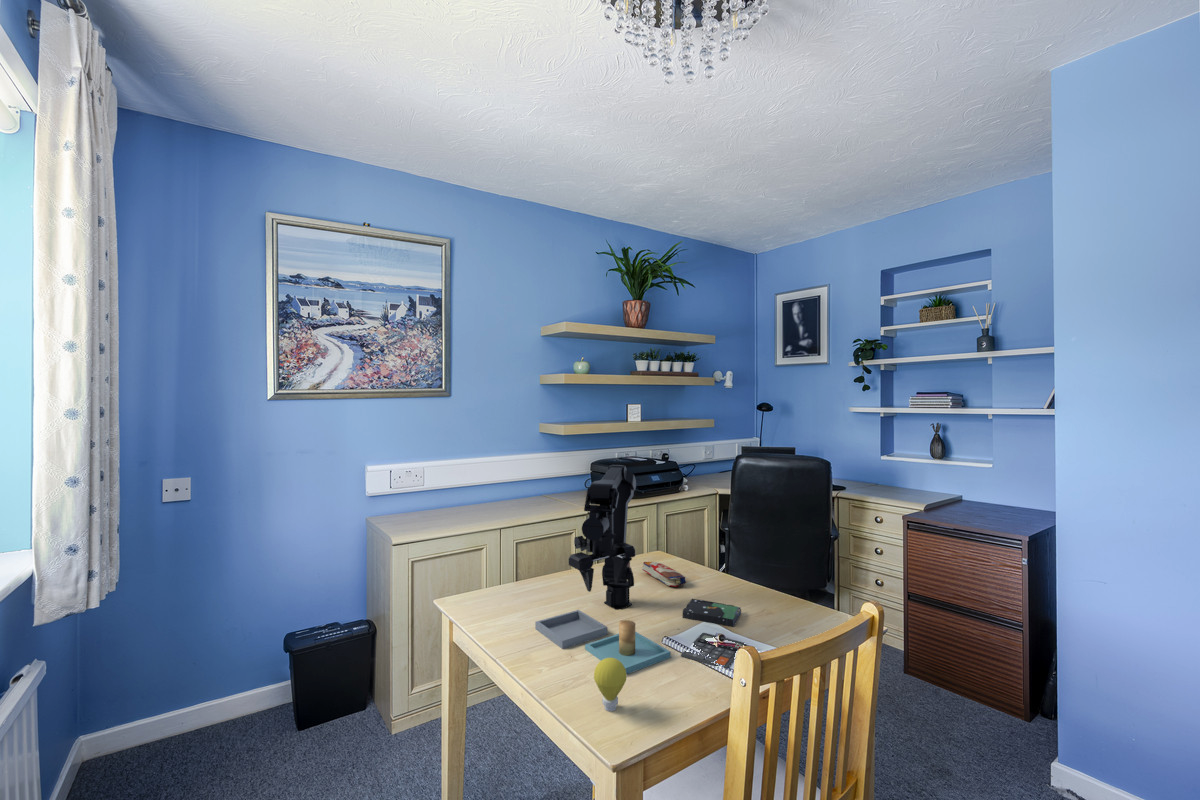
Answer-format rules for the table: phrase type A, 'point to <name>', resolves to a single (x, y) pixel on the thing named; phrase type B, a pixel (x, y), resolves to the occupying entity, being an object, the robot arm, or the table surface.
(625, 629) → the wooden peg
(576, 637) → the shallow gray bin
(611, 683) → the light bulb
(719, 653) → the calculator
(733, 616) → the disk drive
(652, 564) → the pencil case
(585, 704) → the table surface
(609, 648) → the tray
